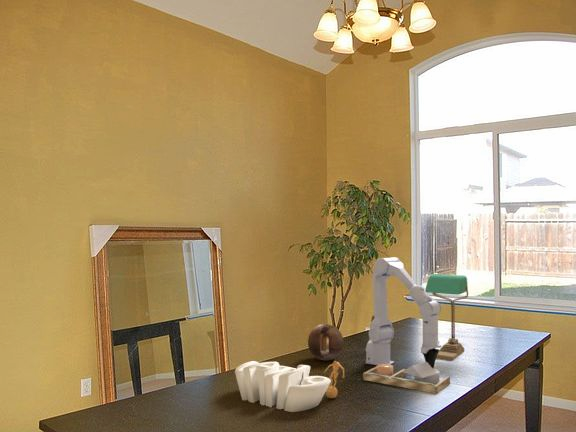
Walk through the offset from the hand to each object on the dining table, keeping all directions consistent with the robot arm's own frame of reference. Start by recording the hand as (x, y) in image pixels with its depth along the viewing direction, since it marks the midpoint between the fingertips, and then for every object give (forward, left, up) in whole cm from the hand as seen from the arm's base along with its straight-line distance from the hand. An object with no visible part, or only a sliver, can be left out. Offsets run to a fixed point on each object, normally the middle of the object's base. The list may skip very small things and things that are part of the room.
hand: (430, 368), depth 201 cm
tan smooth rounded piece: (-13, -11, -3) cm, 18 cm away
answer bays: (-5, -11, -3) cm, 12 cm away
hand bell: (-35, +24, -3) cm, 43 cm away
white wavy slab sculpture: (-32, -54, -3) cm, 63 cm away
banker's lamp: (-5, +36, -3) cm, 37 cm away
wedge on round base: (0, -7, -3) cm, 8 cm away
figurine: (-18, -42, -3) cm, 46 cm away
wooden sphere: (-45, -2, -3) cm, 45 cm away
